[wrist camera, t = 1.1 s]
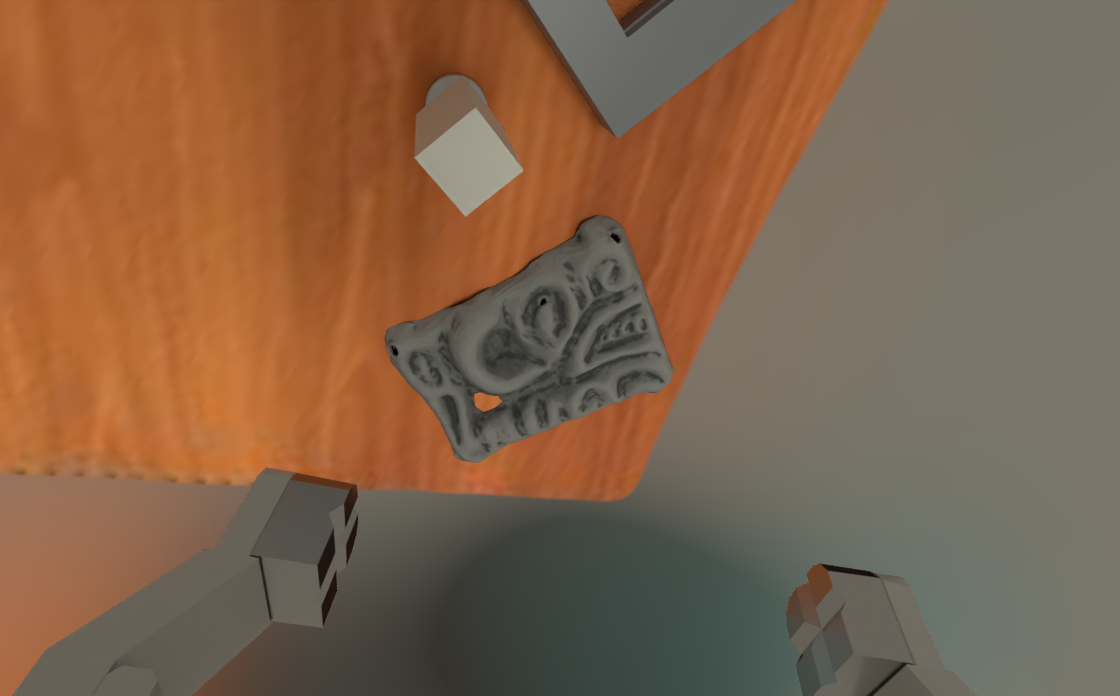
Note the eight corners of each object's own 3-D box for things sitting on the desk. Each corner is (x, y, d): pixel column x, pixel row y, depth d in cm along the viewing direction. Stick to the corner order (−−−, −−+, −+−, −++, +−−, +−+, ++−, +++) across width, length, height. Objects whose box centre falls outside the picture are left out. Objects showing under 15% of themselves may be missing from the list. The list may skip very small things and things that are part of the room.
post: (452, 148, 48) (464, 221, 34) (412, 99, 45) (408, 157, 32) (498, 111, 47) (529, 170, 33) (459, 59, 45) (475, 101, 31)
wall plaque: (613, 203, 53) (626, 219, 50) (674, 369, 63) (688, 391, 60) (362, 318, 54) (359, 340, 51) (462, 463, 64) (464, 489, 61)
